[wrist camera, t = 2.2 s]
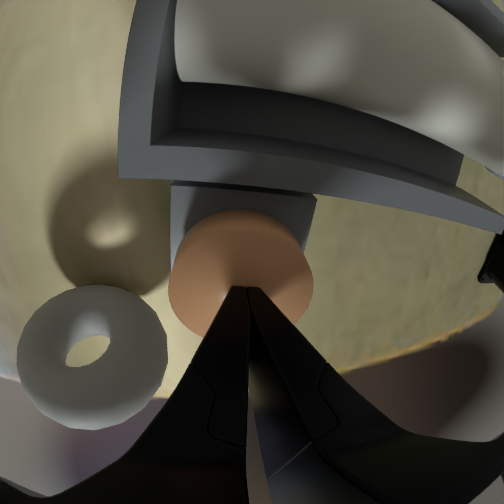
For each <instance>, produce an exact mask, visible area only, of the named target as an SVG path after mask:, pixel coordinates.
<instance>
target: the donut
mask: <svg viewBox="0 0 504 504" xmlns="http://www.w3.org/2000/svg"><path fill="white" fill-rule="evenodd" d="M96 335H101V336H105V337H108V338H110V344H109V346H108V348H107V350H106V352H105V353H104V354H103V355H102V356H101V357H100V358H99V359H97V360H96V361H94V362H93V363H91V364H89V365H85V366H82V367H69V366H67V365H66V362H65V361H66V356H67V354H68V352H69V350H70V349H71V348H72V347H73V346H74V345H75V344H76V343H77V342H79V341H80V340H82V339H84V338H86V337H90V336H96ZM167 364H168V352H167V335H166V333H165V331H164V328H163V326H162V324H161V322H160V320H159V318H158V316H157V314H156V312H155V311H154V310H153V309H152V308H151V307H150V306H149V305H148V304H147V303H146V302H145V301H144V300H143V299H141V298H140V297H139V296H138V295H136V294H134V293H131V292H129V291H127V290H125V289H123V288H119V287H113V286H107V285H101V284H100V285H87V286H80V287H77V288H74V289H70V290H67V291H64V292H62V293H61V294H59V295H57V296H55V297H53V298H51V299H49V300H48V301H47V302H46V303H45V304H43V305H42V306H41V307H40V308H39V309H38V310H36V311H35V313H34V314H33V315H32V317H31V318H30V319H29V321H28V322H27V324H26V325H25V327H24V330H23V332H22V335H21V337H20V340H19V343H18V346H17V370H18V374H19V377H20V380H21V383H22V386H23V389H24V392H25V393H26V395H27V396H28V397H29V399H30V400H31V401H32V402H33V403H34V405H35V406H36V407H37V408H38V409H39V410H40V412H42V414H44V415H46V416H47V417H49V418H51V419H53V420H55V421H57V422H59V423H61V424H63V425H65V426H67V427H69V428H77V429H87V430H97V429H101V428H105V427H109V426H112V425H116V424H120V423H123V422H124V421H126V420H127V419H129V418H130V417H132V416H133V415H134V414H136V413H137V412H139V411H140V410H142V409H143V408H144V407H145V406H146V404H147V403H148V402H149V400H150V399H151V398H152V396H153V395H154V394H155V392H156V391H157V390H158V388H159V387H160V386H161V383H162V380H163V376H164V373H165V370H166V367H167Z"/></svg>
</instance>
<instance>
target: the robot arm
mask: <svg viewBox="0 0 504 504" xmlns="http://www.w3.org/2000/svg"><path fill="white" fill-rule="evenodd" d="M478 281H479V282H480V283H495V284H496V285H497V286H498V288H499V289H500V290H501V291H502V292H503V293H504V230H503V232H502V235H501V234H498V237H497V239H496V241H495V244H494V246H493V248H492V250H491V253H490V255H489V257H488V259H487V261H486V263H485V265H484V267H483V269H482V271H481V273H480V275H479V277H478ZM248 388H249V393H250V399H251V404H252V410H253V414H254V420H255V425H256V430H257V436H258V441H259V446H260V451H261V456H262V461H263V465H264V471H265V475H266V480H267V485H268V490H269V494H270V499H271V503H272V504H504V432H502V433H501V434H499V435H498V436H497V437H495V438H494V439H493V440H491V441H489V442H469V441H459V440H451V439H444V438H437V437H431V436H426V435H420V434H415V433H413V432H410V431H407V430H405V429H403V428H401V427H400V426H398V425H397V424H396V423H394V422H393V421H392V420H390V419H389V418H388V417H387V416H386V415H384V414H383V413H382V412H381V411H379V410H378V409H377V408H376V407H375V406H373V405H372V404H371V403H370V402H369V401H367V400H366V399H365V398H364V397H363V396H362V395H361V394H359V393H358V392H357V391H356V390H355V389H354V388H353V387H351V385H349V384H348V383H347V382H346V381H345V380H344V379H343V378H342V377H341V376H340V375H339V374H338V373H337V371H336V370H335V369H334V368H333V367H332V366H331V365H330V364H329V363H328V362H327V363H326V360H325V359H324V358H323V357H322V355H321V354H320V353H319V352H318V351H317V350H316V349H315V348H314V347H313V346H312V345H311V343H310V342H309V341H308V340H307V339H306V338H305V337H304V336H303V335H302V334H301V332H300V331H299V330H298V329H297V328H296V327H295V326H294V325H293V324H292V322H291V321H290V320H289V319H288V318H287V317H286V316H285V315H284V314H283V313H282V311H281V310H280V309H279V308H278V307H277V306H276V305H275V304H274V302H273V301H272V300H271V299H270V298H269V297H268V296H267V295H266V294H265V292H264V291H263V290H262V289H261V288H260V287H254V286H247V287H246V288H245V287H244V286H234V285H233V286H231V287H230V289H229V291H228V293H227V295H226V297H225V299H224V300H223V302H222V304H221V306H220V308H219V310H218V312H217V314H216V315H215V317H214V319H213V321H212V323H211V325H210V327H209V329H208V330H207V332H206V334H205V336H204V338H203V340H202V342H201V344H200V345H199V347H198V349H197V351H196V353H195V355H194V357H193V359H192V360H191V363H190V364H189V366H188V368H187V369H186V371H185V373H184V375H183V377H182V378H181V380H180V382H179V384H178V385H177V387H176V389H175V390H174V392H173V393H172V394H171V396H170V397H169V399H168V400H167V402H166V403H165V405H164V406H163V407H162V409H161V410H160V411H159V413H158V414H157V415H156V416H155V418H154V419H153V420H152V422H151V423H150V424H149V425H148V427H147V428H146V429H145V431H144V432H143V433H142V435H141V436H140V437H139V438H138V440H137V441H136V442H135V443H134V444H133V446H132V447H131V448H130V449H129V450H128V451H127V452H126V453H125V454H124V455H123V456H121V457H120V458H119V459H118V460H116V461H115V462H113V463H112V464H110V465H108V466H107V467H105V468H104V469H102V470H100V471H99V472H97V473H95V474H94V475H92V476H90V477H88V478H87V479H85V480H84V481H81V482H80V483H78V484H76V485H74V486H72V487H71V488H69V489H67V490H65V491H63V492H61V493H59V494H56V495H53V496H50V497H47V496H45V495H42V494H39V493H36V492H34V491H32V490H29V489H27V488H25V487H22V486H20V485H18V484H16V483H14V482H12V481H9V480H7V479H5V478H3V477H0V504H249V497H248V489H247V478H246V437H247V410H248Z"/></svg>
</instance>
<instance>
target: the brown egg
mask: <svg viewBox="0 0 504 504" xmlns="http://www.w3.org/2000/svg"><path fill="white" fill-rule="evenodd" d="M233 285H234V286H244V287H245V288H246V287H247V286H254V287H260V288H261V289H262V290H263V291H264V292H265V294H266V295H267V296H268V297H269V298H270V299H271V300H272V301H273V302H274V304H275V305H276V306H277V307H278V308H279V309H280V310H281V311H282V313H283V314H284V315H285V316H286V317H287V318H288V319H289V320H290V321H291V322H292V324H295V323H296V322H297V321H298V320H299V319H300V317H301V316H302V315H303V314H304V312H305V311H306V309H307V307H308V305H309V303H310V301H311V298H312V294H313V276H312V272H311V270H310V267H309V265H308V263H307V261H306V258H305V256H304V254H303V252H302V250H301V248H300V246H299V244H298V242H297V240H296V238H295V236H294V235H293V233H292V232H291V231H290V230H289V229H288V228H287V227H286V226H285V225H284V224H283V223H282V222H280V221H279V220H277V219H276V218H274V217H272V216H270V215H267V214H265V213H261V212H258V211H253V210H243V209H236V210H227V211H223V212H219V213H216V214H213V215H210V216H208V217H207V218H205V219H203V220H201V221H200V222H198V223H197V224H195V225H194V226H193V227H192V228H191V229H190V230H189V231H188V232H187V233H186V235H185V236H184V237H183V239H182V241H181V242H180V244H179V247H178V249H177V253H176V256H175V260H174V264H173V268H172V272H171V276H170V280H169V286H168V294H169V301H170V304H171V307H172V309H173V311H174V313H175V314H176V316H177V317H178V319H179V320H180V321H181V322H182V323H183V324H184V325H185V326H186V327H187V328H188V329H190V330H191V331H193V332H194V333H196V334H198V335H200V336H202V337H204V336H205V334H206V332H207V330H208V329H209V327H210V325H211V323H212V321H213V319H214V317H215V315H216V314H217V312H218V310H219V308H220V306H221V304H222V302H223V300H224V299H225V297H226V295H227V293H228V291H229V289H230V287H231V286H233Z"/></svg>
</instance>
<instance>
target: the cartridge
mask: <svg viewBox="0 0 504 504" xmlns="http://www.w3.org/2000/svg"><path fill="white" fill-rule="evenodd" d="M174 45H175V59H176V66H177V72H178V75H179V77H180V79H181V81H183V82H205V83H220V84H231V85H240V86H249V87H256V88H263V89H269V90H276V91H281V92H287V93H292V94H297V95H302V96H306V97H311V98H315V99H319V100H323V101H327V102H331V103H335V104H339V105H342V106H346V107H349V108H353V109H356V110H359V111H362V112H365V113H368V114H371V115H374V116H377V117H380V118H383V119H386V120H389V121H391V122H394V123H397V124H399V125H402V126H404V127H407V128H409V129H412V130H414V131H416V132H419V133H421V134H423V135H425V136H428V137H430V138H432V139H434V140H436V141H438V142H441V143H443V144H445V145H447V146H449V147H451V148H453V149H455V150H456V151H458V152H460V153H462V154H464V155H466V156H468V157H469V158H471V159H473V160H475V161H476V162H478V163H480V164H482V165H483V166H485V167H486V168H487V169H488V170H489V171H490V172H492V173H493V174H495V175H496V176H498V177H500V178H502V179H504V61H503V60H502V59H501V58H500V57H499V56H498V55H497V54H496V53H495V52H494V51H493V50H492V49H491V48H490V47H489V46H488V45H487V44H486V43H485V42H484V41H483V40H482V39H481V38H479V37H478V36H477V35H476V34H475V33H474V32H473V31H471V30H470V29H469V28H468V27H467V26H466V25H464V24H463V23H462V22H461V21H459V20H458V19H457V18H455V17H454V16H453V15H452V14H450V13H449V12H447V11H446V10H445V9H443V8H442V7H440V6H439V5H438V4H436V3H435V2H433V1H432V0H177V5H176V15H175V32H174Z"/></svg>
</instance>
